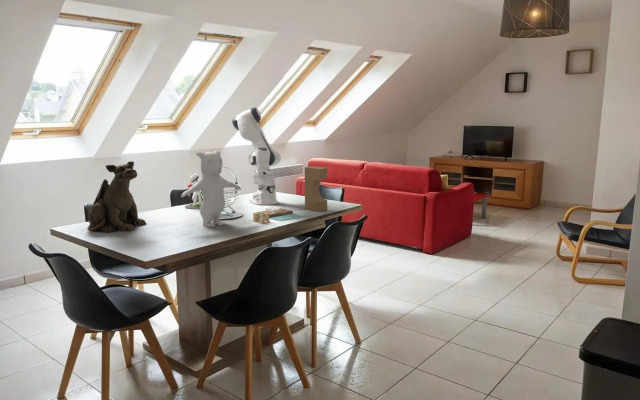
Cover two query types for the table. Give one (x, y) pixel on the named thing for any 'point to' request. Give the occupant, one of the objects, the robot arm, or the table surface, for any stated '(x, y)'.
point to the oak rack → (261, 217)
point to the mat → (286, 217)
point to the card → (273, 210)
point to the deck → (278, 213)
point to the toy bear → (211, 188)
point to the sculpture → (115, 203)
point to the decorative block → (314, 188)
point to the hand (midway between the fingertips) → (263, 191)
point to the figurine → (195, 194)
